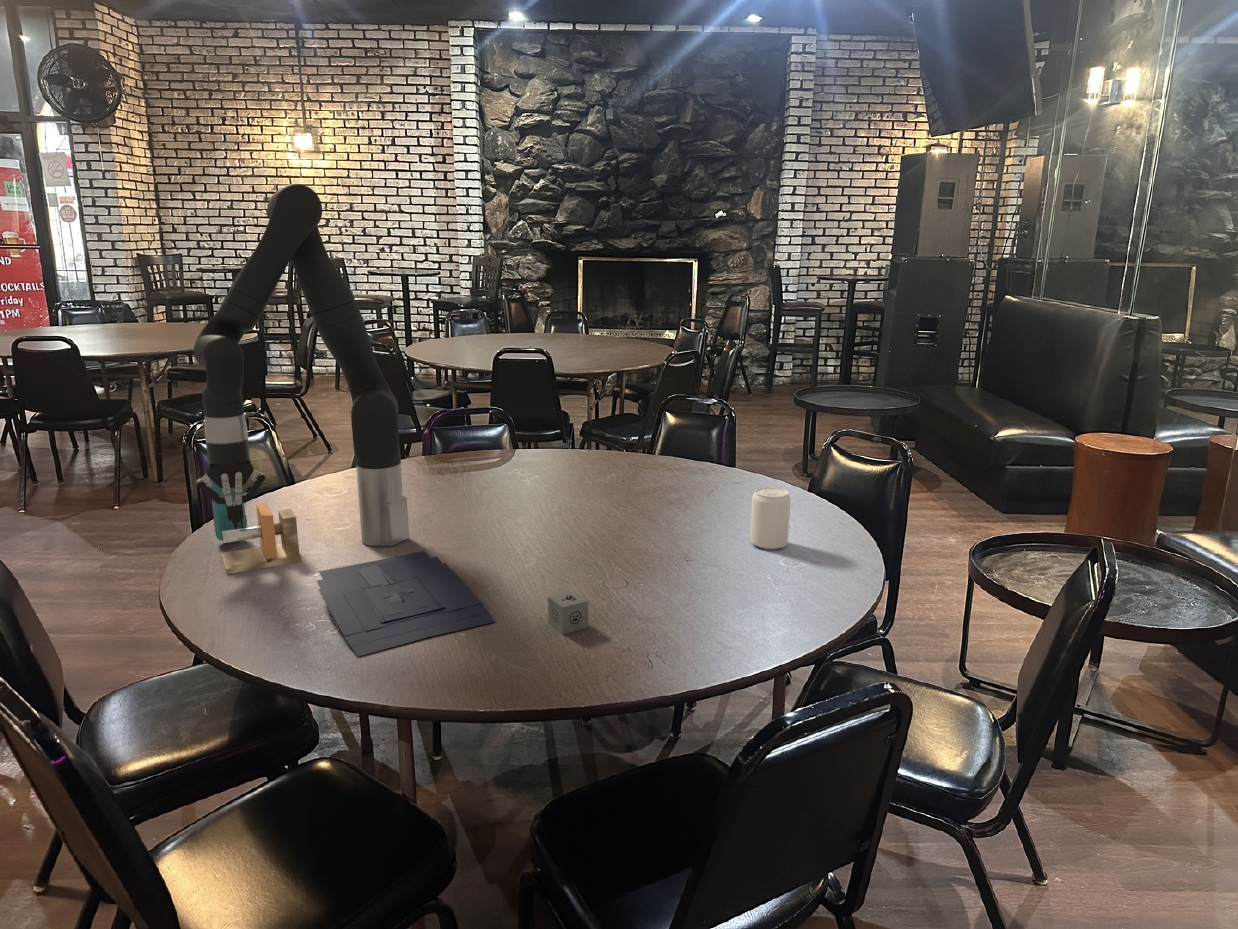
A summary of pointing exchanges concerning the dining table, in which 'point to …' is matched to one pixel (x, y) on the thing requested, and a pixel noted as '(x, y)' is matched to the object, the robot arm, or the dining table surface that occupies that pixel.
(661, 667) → the dining table surface
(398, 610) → the dark blue flat slab
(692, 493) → the dining table surface
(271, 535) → the collar
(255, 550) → the pipe stand
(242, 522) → the beverage bottle
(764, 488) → the beverage can
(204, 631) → the dining table surface
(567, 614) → the dice cube
